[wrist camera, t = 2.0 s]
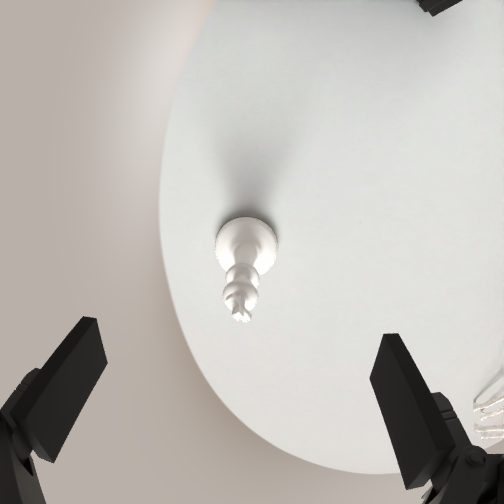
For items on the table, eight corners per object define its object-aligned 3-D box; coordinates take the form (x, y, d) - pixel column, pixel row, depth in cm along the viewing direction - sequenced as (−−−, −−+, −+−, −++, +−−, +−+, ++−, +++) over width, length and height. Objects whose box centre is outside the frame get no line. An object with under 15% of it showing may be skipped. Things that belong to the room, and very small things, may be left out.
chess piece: (254, 204, 24) (249, 254, 15) (289, 254, 26) (304, 326, 17) (202, 239, 26) (171, 304, 16) (239, 285, 27) (228, 365, 18)
